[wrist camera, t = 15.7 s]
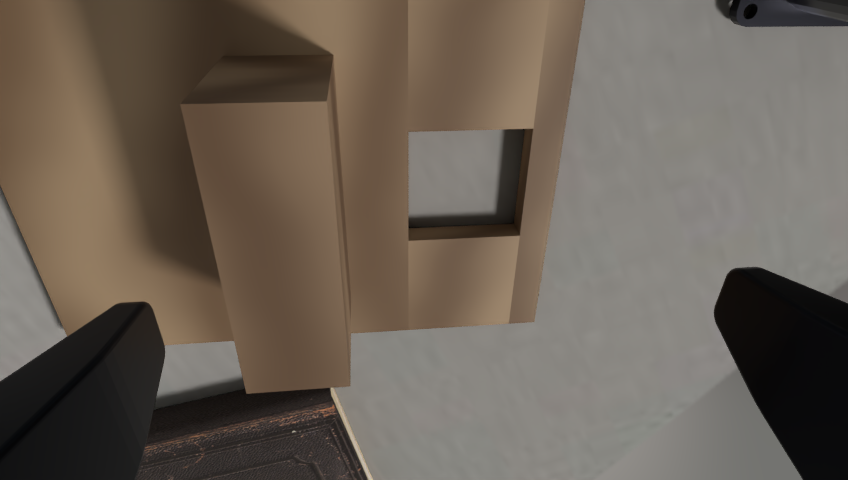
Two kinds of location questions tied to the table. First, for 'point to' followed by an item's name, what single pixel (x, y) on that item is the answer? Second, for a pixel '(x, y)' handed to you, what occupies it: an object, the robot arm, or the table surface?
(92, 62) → the lid
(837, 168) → the table surface
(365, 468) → the hardcover book
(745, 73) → the table surface
